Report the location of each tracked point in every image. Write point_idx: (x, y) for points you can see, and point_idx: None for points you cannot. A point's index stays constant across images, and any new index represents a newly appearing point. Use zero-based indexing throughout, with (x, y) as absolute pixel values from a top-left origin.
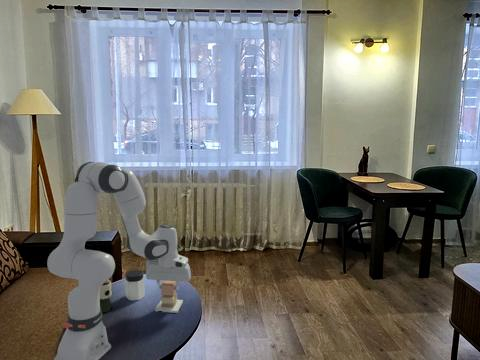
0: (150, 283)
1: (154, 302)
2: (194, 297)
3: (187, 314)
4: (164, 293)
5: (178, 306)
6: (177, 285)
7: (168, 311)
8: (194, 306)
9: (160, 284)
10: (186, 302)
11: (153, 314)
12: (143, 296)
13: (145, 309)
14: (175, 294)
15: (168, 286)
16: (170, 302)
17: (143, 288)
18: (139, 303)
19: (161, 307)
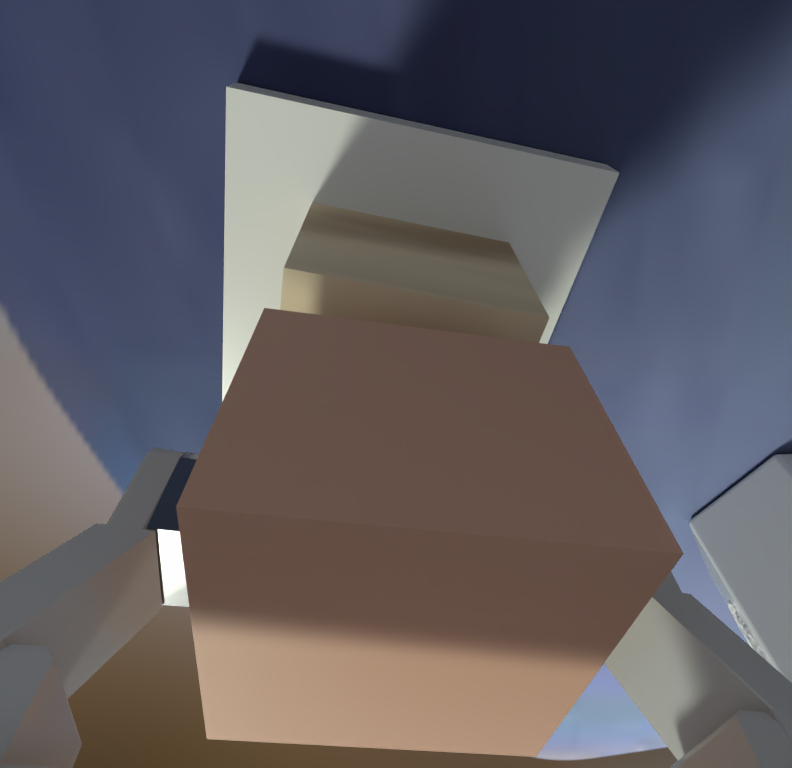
0: (600, 677)
1: None
2: (121, 481)
3: (26, 8)
4: (498, 359)
5: (239, 245)
6: (62, 556)
7: (388, 118)
8: (25, 282)
9: (644, 623)
10: (181, 385)
11: (647, 51)
12: (710, 511)
13: (745, 234)
14: None
15: (382, 506)
16: (356, 246)
17: (761, 601)
18: (785, 389)
19: (512, 227)
